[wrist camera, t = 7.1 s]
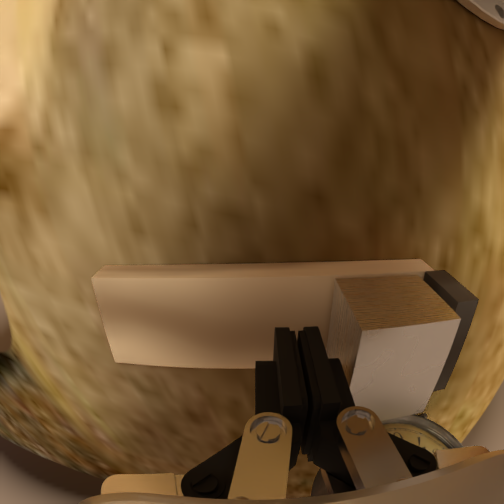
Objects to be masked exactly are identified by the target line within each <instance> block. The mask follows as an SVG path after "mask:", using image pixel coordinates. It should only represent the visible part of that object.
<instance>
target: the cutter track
mask: <svg viewBox="0 0 504 504" xmlns="http://www.w3.org/2000/svg"><path fill="white" fill-rule="evenodd" d="M400 275H418V276H419V277H420V278H422V279H423V280H424V281H425V282H426V283H427V284H428V285H429V286H430V287H431V288H432V289H433V290H434V291H435V292H436V293H437V294H438V295H439V296H440V297H441V298H442V299H443V300H444V301H445V302H446V303H447V304H448V305H449V306H450V307H451V308H452V309H453V310H454V311H455V313H456V314H457V315H458V316H459V317H460V318H461V320H460V323H459V326H458V329H457V332H456V335H455V338H454V341H453V344H452V346H451V349H450V352H449V354H448V357H447V359H446V362H445V364H444V367H443V369H442V372H441V374H440V376H439V379H438V381H437V383H436V385H435V388H434V390H433V391H437V390H441V389H445V387H446V384H447V382H448V380H449V378H450V376H451V373H452V371H453V369H454V367H455V364H456V362H457V359H458V357H459V355H460V352H461V349H462V347H463V344H464V342H465V339H466V336H467V334H468V331H469V328H470V325H471V322H472V319H473V316H474V313H475V310H476V307H477V304H478V300H479V299H478V298H476V297H475V296H474V295H473V294H472V293H471V292H470V291H469V290H467V289H466V288H465V287H464V286H463V285H462V284H460V283H459V282H458V281H457V280H456V279H455V278H453V277H452V276H451V275H450V274H449V273H447V272H446V271H445V270H439V271H435V270H434V269H432V268H431V267H430V266H429V265H428V264H426V263H425V262H424V261H423V260H422V259H403V260H371V261H336V262H295V263H246V264H182V265H104V266H103V267H102V268H101V269H100V270H99V271H98V272H97V273H96V274H95V275H94V276H93V277H92V278H91V279H92V283H93V288H94V292H95V296H96V300H97V303H98V307H99V311H100V315H101V318H102V322H103V325H104V328H105V332H106V335H107V338H108V342H109V345H110V348H111V351H112V354H113V357H114V360H115V362H119V363H128V364H139V365H152V366H167V367H186V368H223V369H248V368H255V361H273V351H274V331H275V327H289V328H290V331H295V334H296V339H297V336H298V331H302V330H303V327H312V326H318V327H319V330H320V333H321V337H322V340H323V343H324V346H325V349H326V348H327V341H328V334H329V326H330V318H331V309H332V301H333V291H334V281H335V278H358V277H380V276H400Z"/></svg>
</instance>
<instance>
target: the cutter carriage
mask: <svg viewBox="0 0 504 504" xmlns="http://www.w3.org/2000/svg"><path fill="white" fill-rule="evenodd" d="M460 320H461V318H460V317H459V316H458V315H457V314H456V313H455V311H454V310H453V309H452V308H451V307H450V306H449V305H448V304H447V303H446V302H445V301H444V300H443V299H442V298H441V297H440V296H439V295H438V294H437V293H436V292H435V291H434V290H433V289H432V288H431V287H430V286H429V285H428V284H427V283H426V282H425V281H424V280H423V279H422V278H420V277H419V276H418V275H400V276H380V277H358V278H335V281H334V291H333V301H332V309H331V318H330V326H329V334H328V341H327V348H326V353H327V356H328V359H329V358H339V360H340V362H341V364H342V367H343V370H344V373H345V376H346V379H347V382H348V385H349V388H350V391H351V394H352V397H353V400H354V403H355V406H361V407H365V408H368V409H370V410H372V411H373V412H375V413H376V415H377V416H378V417H379V419H380V421H384V420H389V419H394V418H399V417H404V416H408V415H412V414H417V413H421V412H423V411H424V409H425V407H426V405H427V403H428V401H429V398H430V396H431V394H432V392H433V390H434V388H435V385H436V383H437V381H438V379H439V376H440V374H441V372H442V369H443V367H444V364H445V362H446V359H447V357H448V354H449V352H450V349H451V346H452V344H453V341H454V338H455V335H456V332H457V329H458V326H459V323H460Z"/></svg>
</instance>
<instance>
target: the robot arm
mask: <svg viewBox="0 0 504 504" xmlns="http://www.w3.org/2000/svg"><path fill="white" fill-rule="evenodd" d="M457 1H458V2H459V3H460V4H462V5H463V6H464V7H465V8H467V9H468V10H469V11H471V12H472V13H474V14H475V15H477V16H478V17H480V18H481V19H482V20H484V21H486V22H488V23H490V24H491V25H493V26H495V27H497V28H499V29H502V30H504V0H457ZM300 446H301V450H302V454H307V456H308V462H309V461H313V463H314V464H315V465H317V466H319V467H320V468H321V474H322V477H323V480H324V482H325V485H326V488H327V491H328V493H329V495H322V496H313V497H303V498H289V499H285V498H286V490H287V481H288V472H289V470H290V469H291V468H293V467H294V466H295V465H296V461H297V456H298V454H299V450H300ZM79 504H504V450H497V451H492V452H490V451H489V450H488V449H487V448H486V447H483V446H469V447H462V448H453V449H444V450H436V451H435V453H431V452H429V451H428V450H426V449H424V448H421V447H419V446H417V445H415V444H412V443H410V442H408V441H406V440H404V439H401V438H399V437H397V436H395V435H393V434H391V433H388V432H387V431H386V429H385V428H384V426H383V424H382V422H381V421H380V419H379V417H378V416H377V415H376V413H375V412H373V411H372V410H370V409H368V408H365V407H361V406H355V403H354V400H353V397H352V394H351V391H350V388H349V385H348V382H347V379H346V376H345V373H344V370H343V367H342V364H341V362H340V360H339V358H329V359H328V356H327V353H326V349H325V346H324V343H323V340H322V337H321V333H320V330H319V327H318V326H312V327H303V330H302V331H298V336H297V339H296V334H295V331H290V328H289V327H275V331H274V351H273V361H255V416H253V417H251V418H250V419H249V420H248V421H247V423H246V425H245V428H244V433H243V435H242V436H241V437H240V438H238V439H237V440H235V441H234V442H233V443H231V444H230V445H228V446H227V447H225V448H224V449H222V450H221V451H219V452H218V453H216V454H215V455H213V456H212V457H210V458H209V459H207V460H206V461H204V462H203V463H201V464H199V465H198V466H196V467H195V468H193V469H191V470H190V471H189V472H187V473H186V474H182V475H175V474H174V473H160V474H117V475H112V476H110V477H108V478H107V479H106V480H105V481H104V482H103V484H102V488H101V495H98V496H93V497H90V498H87V499H85V500H83V501H81V502H80V503H79Z"/></svg>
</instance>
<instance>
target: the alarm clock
mask: <svg viewBox="0 0 504 504" xmlns="http://www.w3.org/2000/svg"><path fill="white" fill-rule="evenodd" d="M381 422H382V424H383V426H384V428H385V429H386V431H387V432H388V433H391V434H393V435H395V436H397V437H399V438H401V439H404V440H406V441H408V442H410V443H412V444H415V445H417V446H419V447H421V448H424V449H426V450H428V451H429V452H431V453H435V451H436V450H444V449H453V448H462V447H463V446H462V444H461V443H460V442H459V441H458V440H457V439H456V438H455V437H454V436H453V435H452V434H451V433H449V432H448V431H447V430H446V429H444V428H443V427H441V426H440V425H438V424H437V423H435V422H433V421H431V420H429V419H427V415H426V414H425V413H424V414H421V415H420V416H418V415H415V414H412V415H408V416H404V417H399V418H394V419H389V420H384V421H381ZM322 495H329V493H328V491H327V488H326V485H325V482H324V480H323V477H322V474H321V468H320V469H319V471H318V473H317V475H316V477H315V480H314V483H313V487H312V492H311V497H313V496H322Z"/></svg>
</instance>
